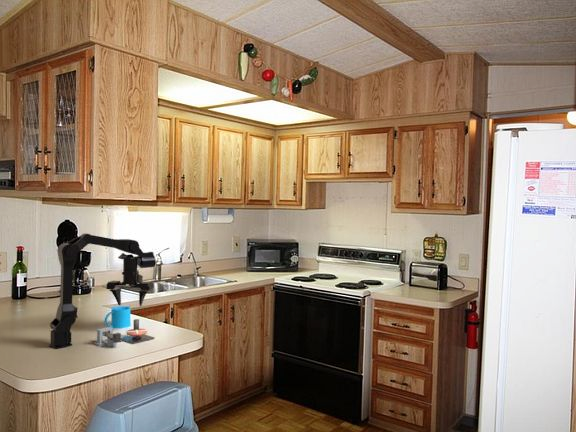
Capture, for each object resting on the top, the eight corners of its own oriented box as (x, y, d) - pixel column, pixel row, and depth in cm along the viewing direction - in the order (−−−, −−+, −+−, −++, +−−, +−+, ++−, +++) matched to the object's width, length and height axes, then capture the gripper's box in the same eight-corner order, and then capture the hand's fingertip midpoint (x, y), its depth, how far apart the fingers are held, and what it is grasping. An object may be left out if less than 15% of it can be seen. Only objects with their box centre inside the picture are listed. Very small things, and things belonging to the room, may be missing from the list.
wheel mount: (133, 344, 193) (133, 341, 192) (119, 339, 199) (119, 336, 199) (154, 338, 200) (154, 335, 200) (140, 334, 207) (140, 331, 207)
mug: (123, 323, 226) (123, 305, 226) (134, 325, 221) (134, 308, 220) (99, 328, 217) (99, 309, 216) (109, 331, 211) (109, 312, 211)
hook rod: (115, 343, 187) (115, 334, 186) (97, 336, 195) (97, 328, 195) (120, 341, 188) (120, 333, 188) (102, 335, 196) (102, 327, 196)
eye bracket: (104, 348, 187) (104, 333, 187) (94, 344, 192) (94, 329, 192) (121, 344, 192) (121, 329, 192) (110, 340, 197) (110, 326, 197)
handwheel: (147, 337, 197) (147, 323, 197) (127, 339, 194) (127, 324, 194) (146, 332, 205) (146, 318, 205) (126, 333, 202) (126, 320, 202)
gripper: (158, 267, 214) (158, 302, 214) (117, 266, 215) (117, 301, 216) (148, 270, 203) (148, 307, 203) (105, 269, 204) (105, 306, 205)
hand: (130, 305), depth 207 cm, fingers open, 9 cm apart
